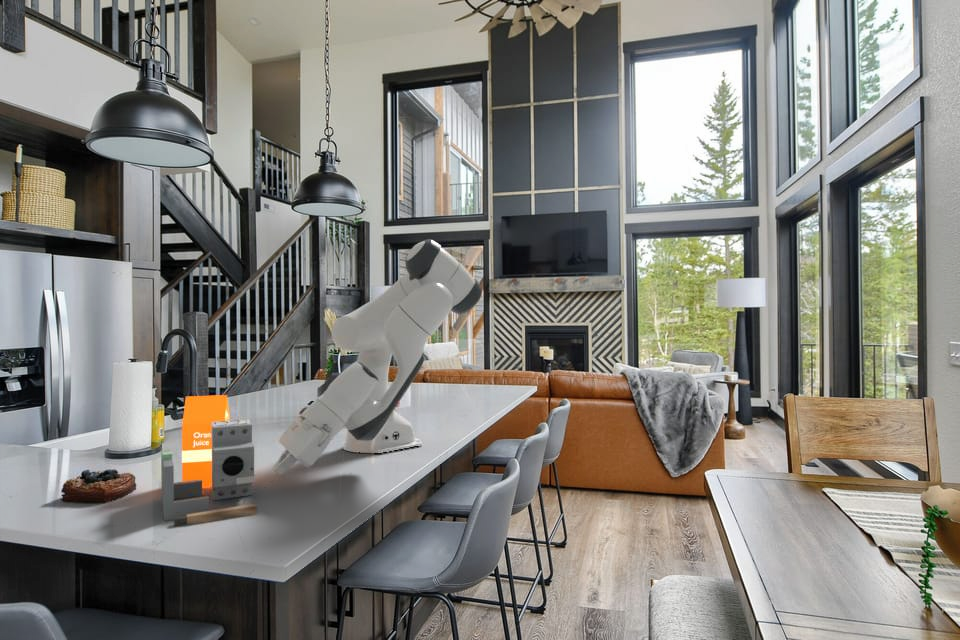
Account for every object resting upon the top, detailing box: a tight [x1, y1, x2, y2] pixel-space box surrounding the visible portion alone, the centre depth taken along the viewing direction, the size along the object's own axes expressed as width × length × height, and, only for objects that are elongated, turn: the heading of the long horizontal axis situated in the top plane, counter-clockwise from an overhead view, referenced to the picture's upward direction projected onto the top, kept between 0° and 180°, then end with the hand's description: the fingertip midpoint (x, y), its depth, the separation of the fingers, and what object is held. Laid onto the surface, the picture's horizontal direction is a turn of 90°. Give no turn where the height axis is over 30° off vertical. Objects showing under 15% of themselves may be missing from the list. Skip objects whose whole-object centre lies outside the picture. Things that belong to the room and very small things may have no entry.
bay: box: [160, 449, 210, 522], centre depth 114 cm, size 8×15×11 cm, turn 31°
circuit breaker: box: [211, 418, 255, 501], centre depth 120 cm, size 8×14×15 cm, turn 27°
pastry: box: [60, 468, 137, 504], centre depth 121 cm, size 11×12×6 cm
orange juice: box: [181, 394, 231, 489], centre depth 129 cm, size 8×9×20 cm
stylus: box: [173, 503, 258, 527], centre depth 107 cm, size 14×2×2 cm, turn 120°
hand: (276, 471), depth 123 cm, fingers closed
